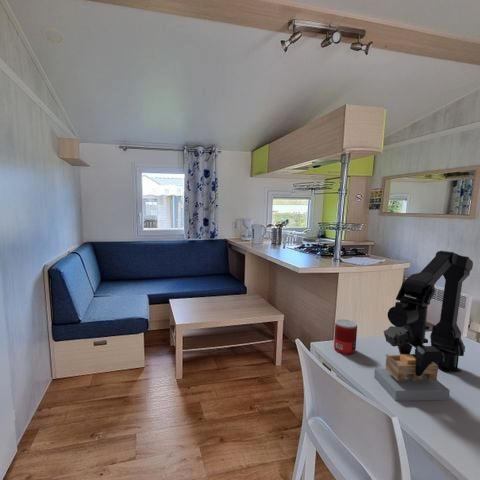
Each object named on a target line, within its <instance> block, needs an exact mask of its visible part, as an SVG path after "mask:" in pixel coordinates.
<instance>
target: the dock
mask: <svg viewBox="0 0 480 480" xmlns="http://www.w3.org/2000/svg"><path fill="white" fill-rule="evenodd" d="M373 373H374V374H373V379H375V380H376V381H377V382H378V383H379V385H381V386H382V388H383V389H384V390H385V391H386V393H388V394H389V395H390V397H391V398H392V400H394V401H396V402H399V401H401V402H402V401H405V402H406V401H410V402H411V401H449V400H450V392H451V391H450V389H449V388H448V387H446V386H445V385H444V384H443V383H441V382H440V381H439V380H438V379H437V380H428V379H427V378H426V377H424V376H423V375H422V377H421V380H412V379H411V378H410V377H409V376H408V375H407V374H406V381H398V380H397V379H396V378H394V377H393V376H392V375H391V374H390V373H389V372H388V371H387V370H386V367H385V368H374V372H373Z"/></svg>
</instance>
